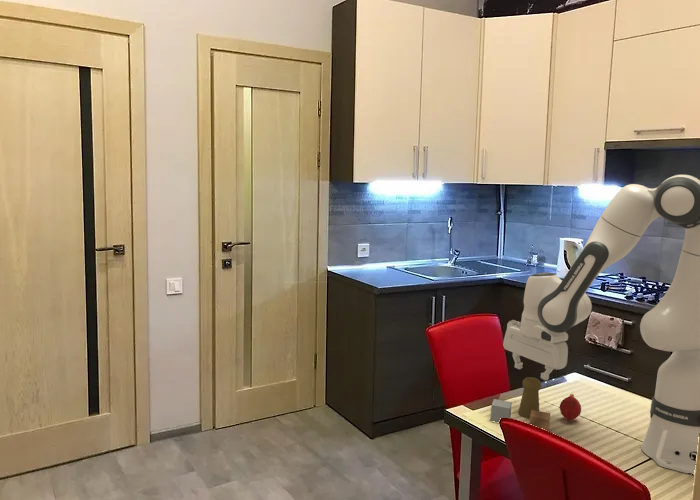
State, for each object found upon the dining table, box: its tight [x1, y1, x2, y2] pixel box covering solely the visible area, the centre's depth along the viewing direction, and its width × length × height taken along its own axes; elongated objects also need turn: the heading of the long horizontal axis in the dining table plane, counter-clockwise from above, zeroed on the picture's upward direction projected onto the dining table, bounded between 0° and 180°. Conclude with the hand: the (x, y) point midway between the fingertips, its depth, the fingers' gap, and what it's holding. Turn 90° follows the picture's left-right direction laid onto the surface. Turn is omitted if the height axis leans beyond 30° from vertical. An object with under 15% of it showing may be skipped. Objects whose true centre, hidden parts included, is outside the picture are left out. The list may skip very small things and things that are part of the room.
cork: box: [517, 376, 542, 420], centre depth 173 cm, size 6×6×11 cm
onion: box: [559, 393, 582, 422], centre depth 171 cm, size 6×6×8 cm
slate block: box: [489, 398, 513, 422], centre depth 169 cm, size 5×5×5 cm
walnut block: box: [529, 410, 551, 431], centre depth 162 cm, size 5×5×5 cm
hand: (531, 373), depth 173 cm, fingers open, 8 cm apart
